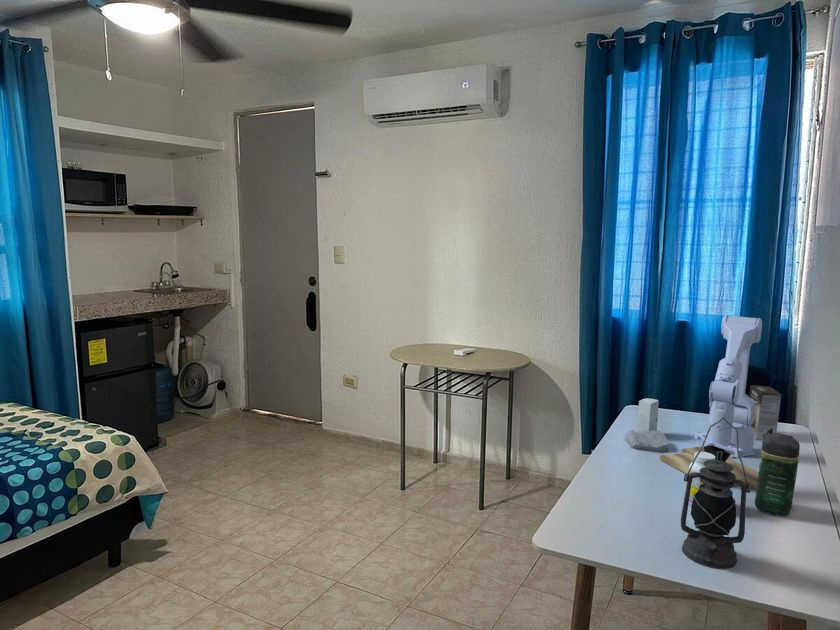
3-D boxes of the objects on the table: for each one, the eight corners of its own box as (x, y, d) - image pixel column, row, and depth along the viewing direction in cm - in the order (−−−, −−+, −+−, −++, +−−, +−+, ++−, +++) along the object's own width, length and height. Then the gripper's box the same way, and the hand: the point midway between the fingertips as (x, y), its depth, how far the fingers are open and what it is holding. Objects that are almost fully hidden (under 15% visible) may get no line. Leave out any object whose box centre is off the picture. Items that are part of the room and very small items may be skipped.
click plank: (686, 456, 180) (687, 452, 180) (741, 484, 161) (742, 480, 161) (659, 459, 177) (660, 455, 176) (712, 488, 158) (713, 483, 158)
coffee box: (744, 430, 205) (749, 384, 202) (764, 431, 204) (769, 385, 201) (755, 439, 196) (760, 392, 193) (776, 441, 195) (782, 393, 192)
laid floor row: (702, 449, 186) (703, 446, 185) (776, 485, 161) (777, 480, 161) (682, 452, 183) (682, 448, 183) (754, 488, 159) (754, 484, 159)
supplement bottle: (713, 500, 151) (718, 452, 149) (716, 512, 145) (722, 462, 143) (684, 496, 153) (689, 448, 151) (686, 507, 147) (691, 457, 145)
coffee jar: (790, 521, 142) (799, 446, 139) (752, 511, 146) (761, 438, 143) (793, 505, 150) (802, 434, 147) (757, 496, 154) (765, 427, 151)
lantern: (676, 559, 124) (690, 420, 119) (677, 535, 133) (690, 406, 129) (744, 575, 119) (761, 431, 114) (739, 549, 129) (755, 415, 124)
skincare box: (648, 440, 193) (651, 403, 191) (635, 436, 196) (638, 400, 194) (657, 435, 197) (660, 400, 195) (643, 432, 200) (647, 397, 198)
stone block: (671, 458, 183) (661, 440, 193) (672, 444, 182) (662, 427, 191) (631, 457, 184) (623, 439, 194) (632, 444, 183) (624, 427, 192)
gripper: (688, 417, 165) (683, 464, 167) (730, 435, 151) (725, 486, 153) (708, 415, 167) (703, 461, 169) (752, 433, 154) (746, 483, 156)
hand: (715, 473), depth 161 cm, fingers closed
